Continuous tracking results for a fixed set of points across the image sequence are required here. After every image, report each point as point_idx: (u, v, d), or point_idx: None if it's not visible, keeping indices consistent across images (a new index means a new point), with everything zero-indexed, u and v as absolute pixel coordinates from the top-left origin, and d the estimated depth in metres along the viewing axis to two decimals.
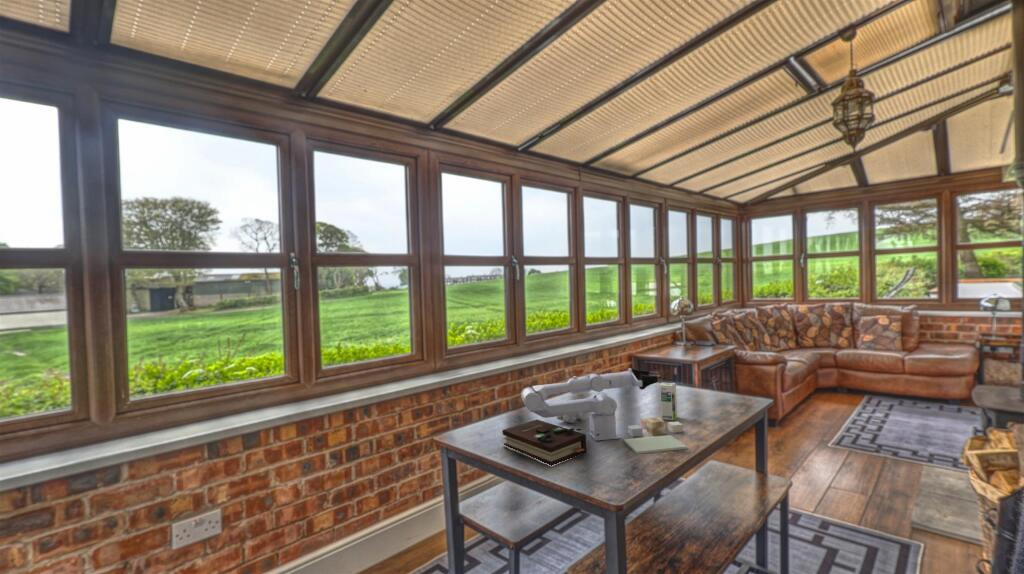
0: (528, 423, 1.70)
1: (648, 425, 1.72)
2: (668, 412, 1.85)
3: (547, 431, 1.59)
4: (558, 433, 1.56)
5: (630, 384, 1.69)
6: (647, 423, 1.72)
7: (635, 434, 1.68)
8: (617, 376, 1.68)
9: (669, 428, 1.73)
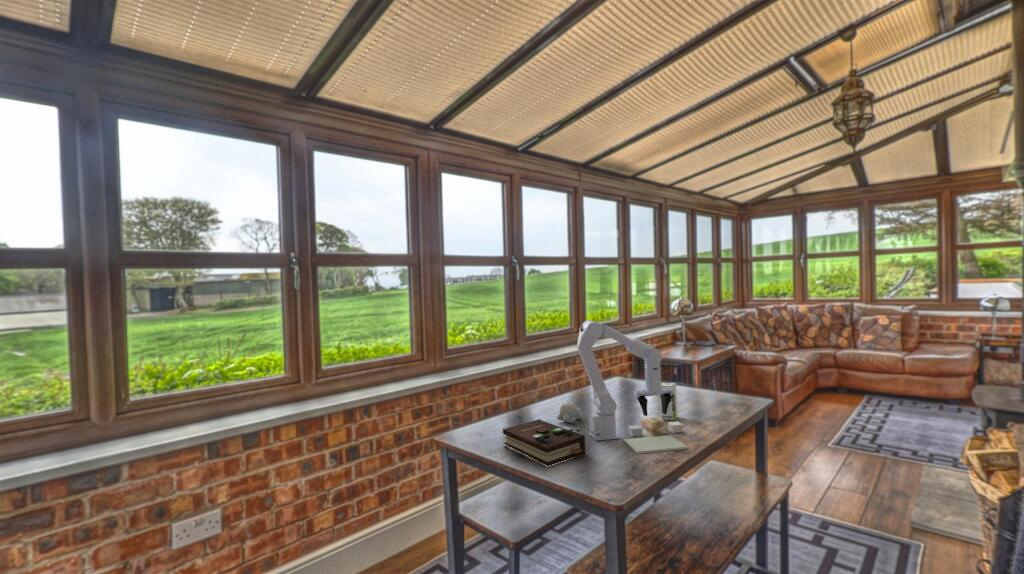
0: (529, 423, 1.70)
1: (648, 425, 1.72)
2: (668, 412, 1.85)
3: (546, 431, 1.59)
4: (557, 434, 1.56)
5: None
6: (647, 423, 1.72)
7: (635, 434, 1.68)
8: (659, 376, 1.69)
9: (669, 427, 1.73)
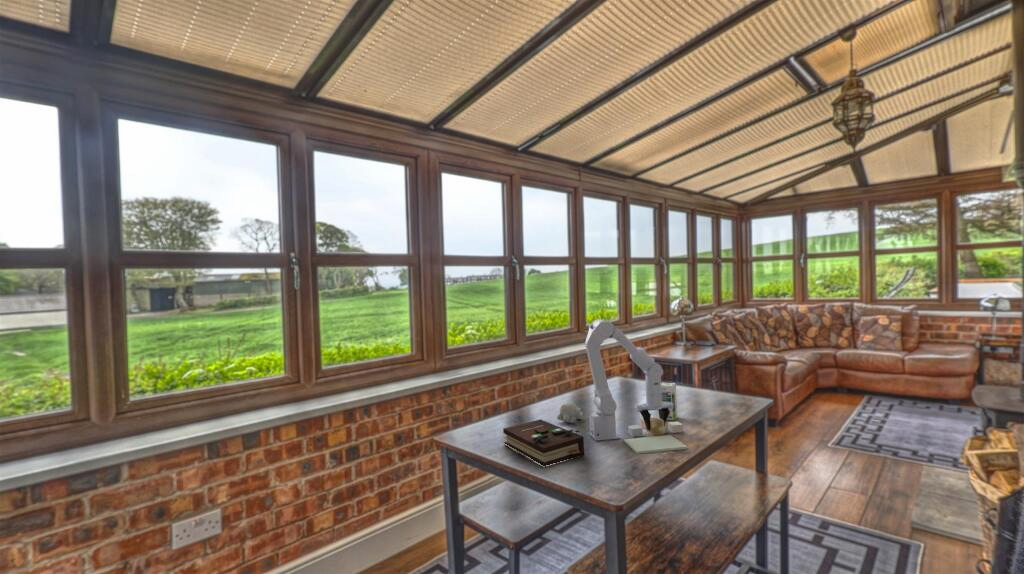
0: (530, 423, 1.70)
1: None
2: None
3: (546, 432, 1.58)
4: (556, 434, 1.55)
5: (646, 402, 1.73)
6: None
7: (635, 434, 1.68)
8: (660, 391, 1.69)
9: (669, 427, 1.73)
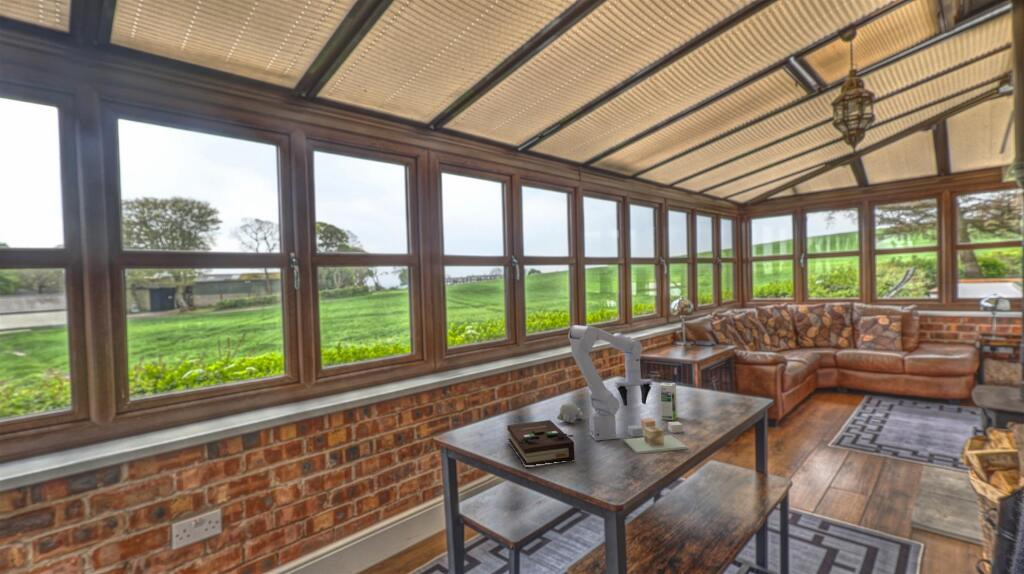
0: (537, 422, 1.71)
1: (646, 434, 1.59)
2: (668, 412, 1.85)
3: (541, 433, 1.57)
4: (548, 436, 1.54)
5: (626, 379, 1.79)
6: (645, 432, 1.60)
7: (635, 434, 1.68)
8: None
9: (669, 427, 1.73)
